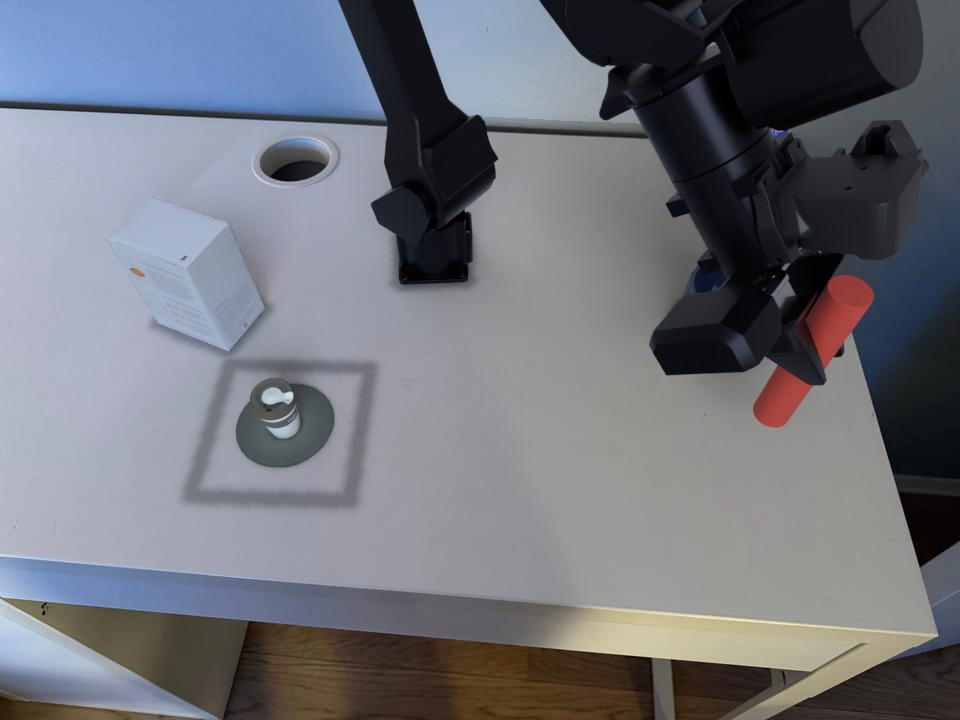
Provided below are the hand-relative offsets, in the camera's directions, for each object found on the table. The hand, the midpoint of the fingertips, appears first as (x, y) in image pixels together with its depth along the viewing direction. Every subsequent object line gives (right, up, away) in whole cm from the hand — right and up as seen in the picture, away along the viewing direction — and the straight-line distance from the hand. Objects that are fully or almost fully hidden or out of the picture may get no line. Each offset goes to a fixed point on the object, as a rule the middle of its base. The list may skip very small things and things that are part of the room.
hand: (827, 369), depth 43 cm
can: (-1, +3, +17) cm, 18 cm away
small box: (-46, +4, +19) cm, 50 cm away
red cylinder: (-1, -3, +6) cm, 7 cm away
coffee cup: (-37, -5, +12) cm, 39 cm away
